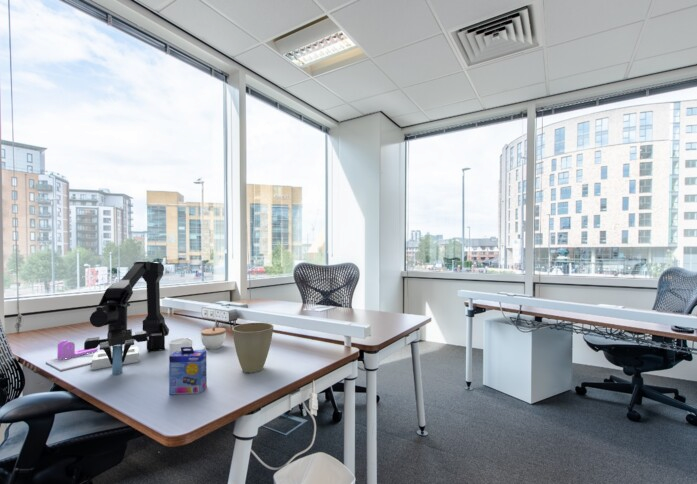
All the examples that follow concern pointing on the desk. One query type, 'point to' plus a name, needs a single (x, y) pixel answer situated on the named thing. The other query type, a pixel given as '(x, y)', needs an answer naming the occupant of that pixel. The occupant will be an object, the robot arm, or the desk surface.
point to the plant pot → (252, 345)
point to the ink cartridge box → (187, 371)
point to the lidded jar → (213, 337)
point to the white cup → (179, 344)
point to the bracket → (71, 350)
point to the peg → (116, 359)
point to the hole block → (103, 361)
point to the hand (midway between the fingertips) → (117, 363)
